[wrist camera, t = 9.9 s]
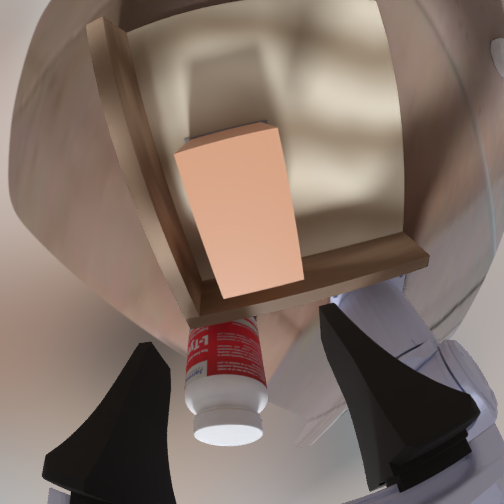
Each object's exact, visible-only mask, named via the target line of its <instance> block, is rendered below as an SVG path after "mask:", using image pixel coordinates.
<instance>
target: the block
mask: <svg viewBox="0 0 504 504" xmlns="http://www.w3.org/2000/svg"><path fill="white" fill-rule="evenodd" d="M174 157H175V160H176V163H177V166H178V169H179V173H180V176H181V179H182V182H183V185H184V188H185V191H186V194H187V197H188V200H189V204H190V207H191V210H192V212H193V215H194V218H195V221H196V224H197V227H198V230H199V233H200V236H201V239H202V242H203V244H204V247H205V250H206V253H207V256H208V258H209V261H210V264H211V267H212V269H213V272H214V275H215V278H216V280H217V283H218V286H219V288H220V291H221V294H222V296H223V299H226V298H230V297H235V296H239V295H243V294H248V293H252V292H256V291H260V290H264V289H268V288H272V287H276V286H280V285H284V284H288V283H292V282H296V281H300V280H304V274H303V267H302V260H301V253H300V247H299V240H298V234H297V228H296V222H295V216H294V210H293V204H292V198H291V193H290V187H289V182H288V176H287V171H286V166H285V161H284V156H283V151H282V146H281V141H280V136H279V132H278V128H277V127H274V126H271V125H268V124H265V123H262V122H258V123H254V124H249V125H245V126H240V127H236V128H232V129H228V130H224V131H220V132H216V133H212V134H209V135H205V136H202V137H198V138H195V139H191V140H189V141H188V142H187V143H185V144H184V145H183V146H182V147H181V148H180V149H179V150H178V151H177V152H176V153H174Z"/></svg>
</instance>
